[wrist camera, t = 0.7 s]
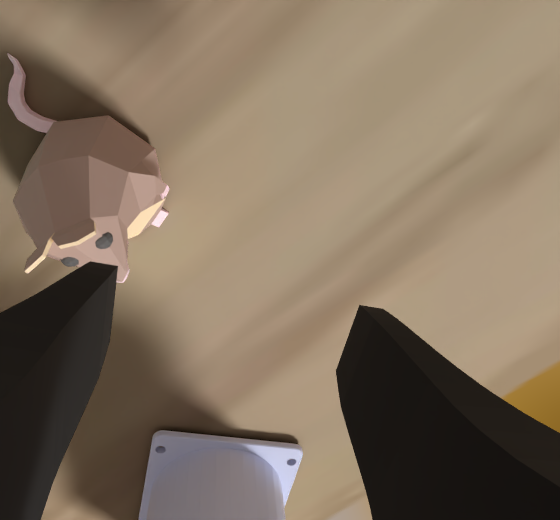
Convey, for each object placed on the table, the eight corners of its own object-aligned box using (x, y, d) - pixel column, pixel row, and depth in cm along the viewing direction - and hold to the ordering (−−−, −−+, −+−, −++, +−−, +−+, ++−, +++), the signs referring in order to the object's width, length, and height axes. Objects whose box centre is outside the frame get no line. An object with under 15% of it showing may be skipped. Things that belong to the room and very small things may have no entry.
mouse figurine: (68, 13, 17) (-22, 10, 11) (196, 204, 20) (183, 283, 14) (-50, 90, 17) (-198, 128, 11) (93, 262, 21) (38, 361, 15)
